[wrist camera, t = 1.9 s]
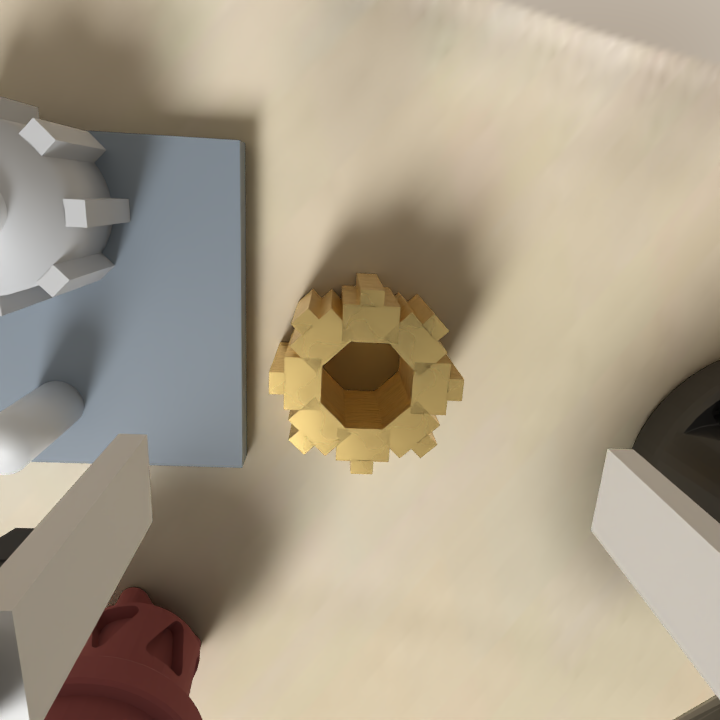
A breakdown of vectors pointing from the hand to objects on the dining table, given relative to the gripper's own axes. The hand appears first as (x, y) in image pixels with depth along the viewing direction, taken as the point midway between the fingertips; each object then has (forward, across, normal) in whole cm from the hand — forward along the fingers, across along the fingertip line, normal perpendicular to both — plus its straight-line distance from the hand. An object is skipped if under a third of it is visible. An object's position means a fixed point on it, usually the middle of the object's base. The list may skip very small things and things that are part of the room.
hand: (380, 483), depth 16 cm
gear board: (+14, +14, -2) cm, 19 cm away
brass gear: (+14, 0, 0) cm, 14 cm away
